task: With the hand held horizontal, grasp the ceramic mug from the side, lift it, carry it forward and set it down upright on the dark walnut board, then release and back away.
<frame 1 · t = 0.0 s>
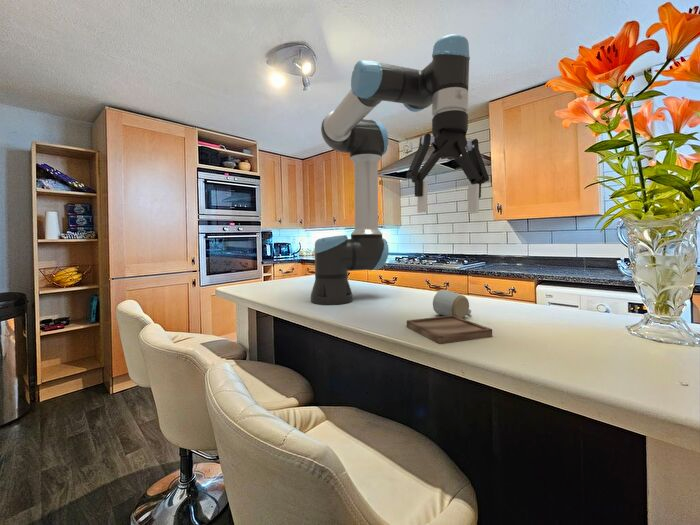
hand: (448, 212, 72), 28 cm above the table, fingers open, 13 cm apart
ceramic mug: (453, 317, 92), on the table
walnut board: (447, 331, 77), on the table
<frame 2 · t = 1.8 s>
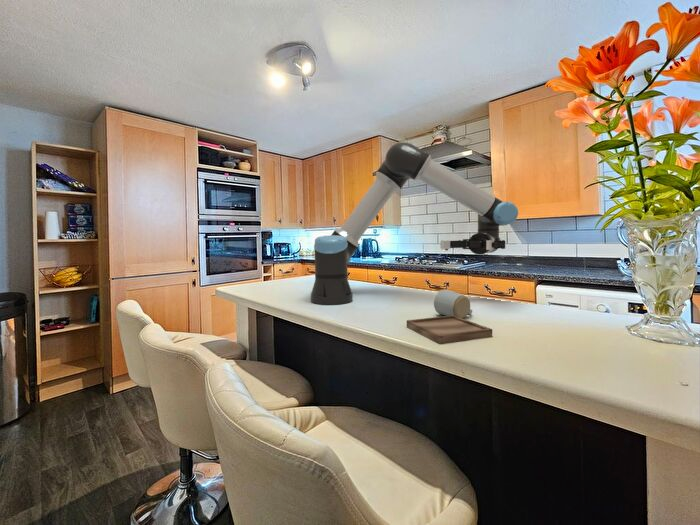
hand: (464, 245, 98), 20 cm above the table, fingers open, 13 cm apart
nothing on the table moved.
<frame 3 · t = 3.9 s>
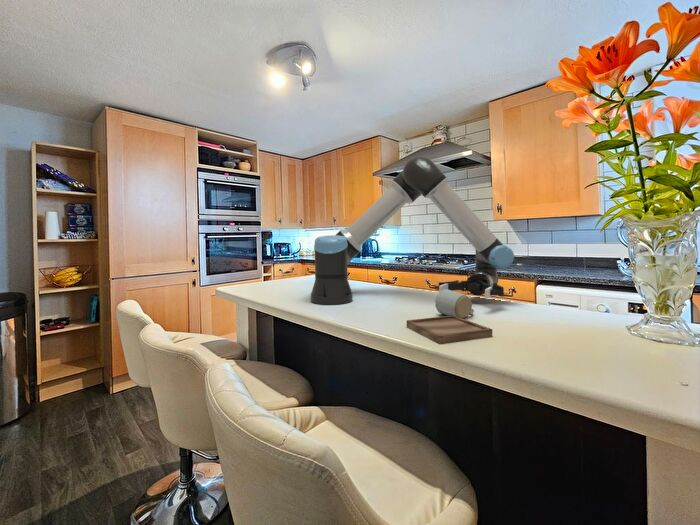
hand: (462, 292, 97), 6 cm above the table, fingers open, 13 cm apart
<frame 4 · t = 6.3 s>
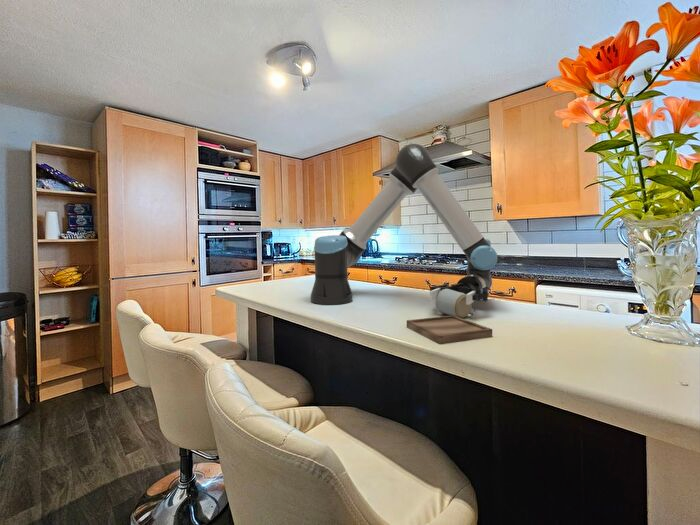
hand: (448, 297, 87), 6 cm above the table, fingers closed on ceramic mug, 9 cm apart
ceramic mug: (456, 315, 92), on the table, touching gripper
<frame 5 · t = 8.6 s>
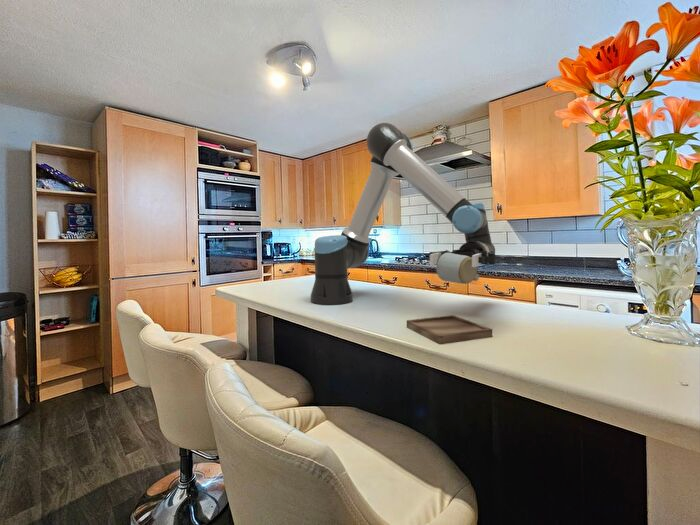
hand: (451, 260, 77), 17 cm above the table, fingers closed on ceramic mug, 9 cm apart
ceramic mug: (459, 282, 82), point 11 cm above the table, touching gripper
when the fingers open (9 cm above the table, at t = 11.3 s): ceramic mug drops 1 cm, resting on walnut board.
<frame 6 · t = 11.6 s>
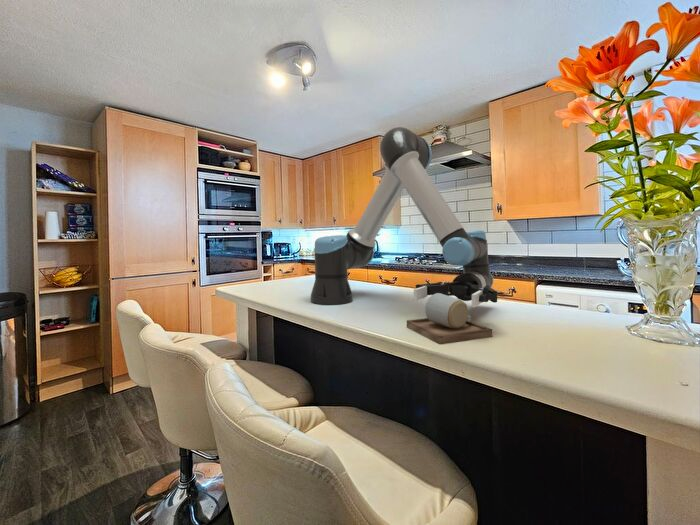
hand: (442, 297, 73), 9 cm above the table, fingers open, 13 cm apart
ceramic mug: (450, 325, 77), point 1 cm above the table, touching walnut board
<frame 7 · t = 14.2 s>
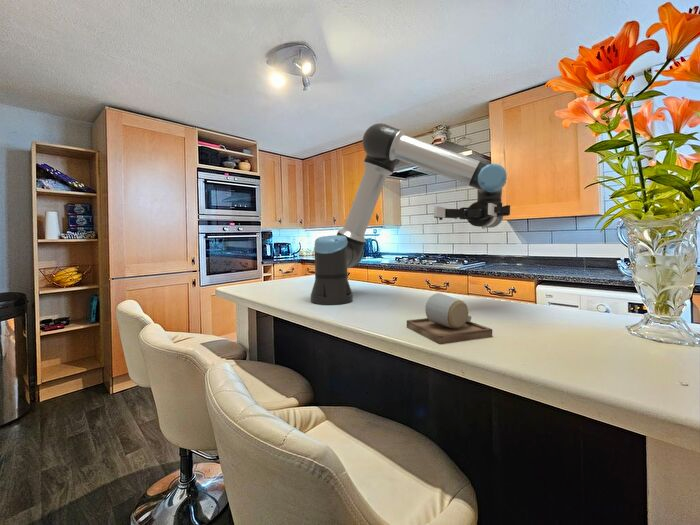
hand: (461, 210, 82), 29 cm above the table, fingers open, 13 cm apart
nothing on the table moved.
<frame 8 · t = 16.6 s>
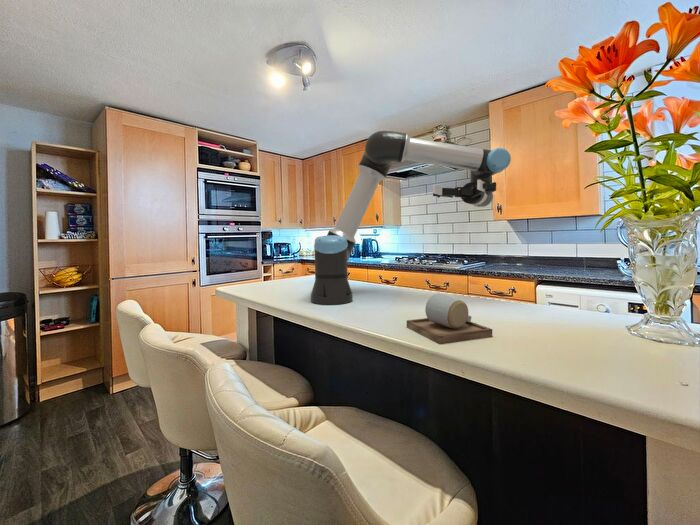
hand: (455, 186, 98), 38 cm above the table, fingers open, 13 cm apart
nothing on the table moved.
at the end: ceramic mug inside the target area on the walnut board (1.6 cm from its centre), point 1.2 cm above the walnut board's base; ceramic mug tilted 3°; the gripper is holding nothing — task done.
